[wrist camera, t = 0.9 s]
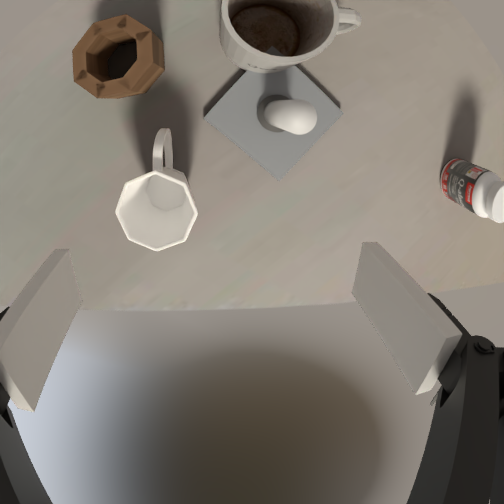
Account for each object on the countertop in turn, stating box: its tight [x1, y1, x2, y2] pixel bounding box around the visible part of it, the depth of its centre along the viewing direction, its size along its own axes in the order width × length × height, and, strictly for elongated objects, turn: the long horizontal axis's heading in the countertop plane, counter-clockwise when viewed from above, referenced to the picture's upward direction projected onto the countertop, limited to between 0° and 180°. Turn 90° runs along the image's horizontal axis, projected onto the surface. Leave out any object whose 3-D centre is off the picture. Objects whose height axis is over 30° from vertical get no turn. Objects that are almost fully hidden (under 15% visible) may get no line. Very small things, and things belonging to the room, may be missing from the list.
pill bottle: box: [440, 159, 504, 223], centre depth 30 cm, size 6×6×10 cm
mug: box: [220, 0, 362, 73], centre depth 22 cm, size 12×9×10 cm
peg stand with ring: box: [203, 46, 343, 181], centre depth 25 cm, size 10×10×10 cm
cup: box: [115, 128, 198, 251], centre depth 27 cm, size 7×10×8 cm
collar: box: [72, 14, 165, 99], centre depth 22 cm, size 7×7×6 cm
